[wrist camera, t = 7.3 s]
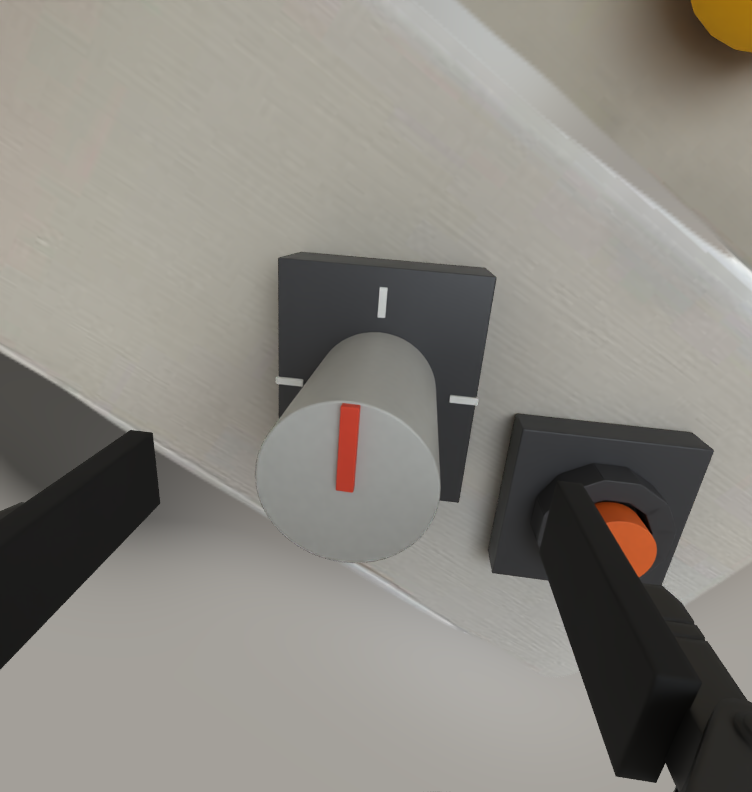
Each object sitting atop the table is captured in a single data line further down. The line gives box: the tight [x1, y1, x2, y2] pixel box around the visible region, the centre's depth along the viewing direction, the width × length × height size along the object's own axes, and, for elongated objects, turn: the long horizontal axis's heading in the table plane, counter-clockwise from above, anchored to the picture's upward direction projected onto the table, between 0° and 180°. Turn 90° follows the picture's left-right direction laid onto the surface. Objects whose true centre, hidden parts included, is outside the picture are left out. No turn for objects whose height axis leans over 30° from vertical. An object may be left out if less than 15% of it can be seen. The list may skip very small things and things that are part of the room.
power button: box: [594, 502, 657, 577], centre depth 24 cm, size 4×4×2 cm
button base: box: [488, 414, 714, 585], centre depth 26 cm, size 10×10×4 cm
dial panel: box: [276, 252, 496, 503], centre depth 25 cm, size 12×10×4 cm
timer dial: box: [255, 332, 441, 563], centre depth 19 cm, size 6×6×9 cm
